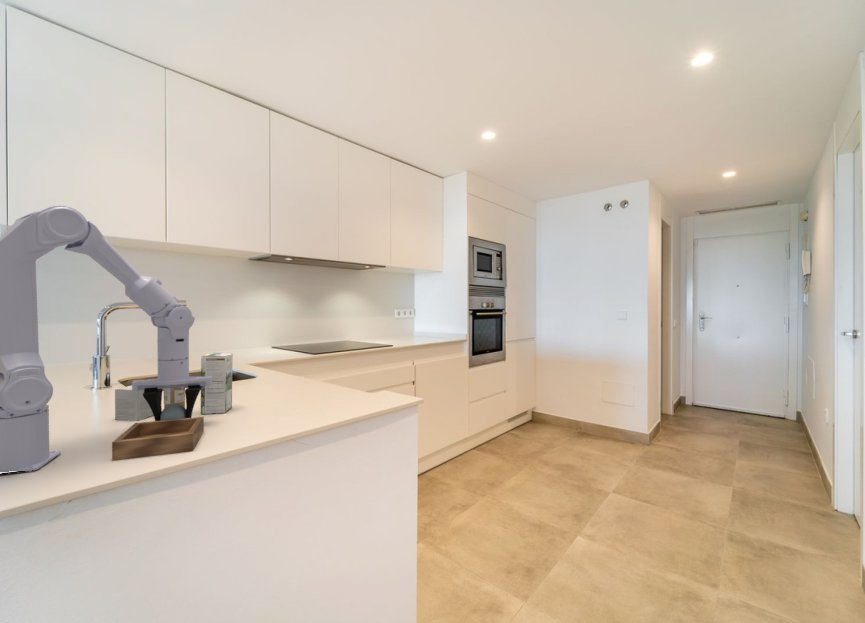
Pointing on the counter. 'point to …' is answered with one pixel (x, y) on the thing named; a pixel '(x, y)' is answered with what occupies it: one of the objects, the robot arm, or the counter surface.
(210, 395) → the syrup box
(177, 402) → the sprinkles bottle
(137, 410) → the skincare box
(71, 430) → the counter surface
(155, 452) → the tray
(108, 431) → the counter surface
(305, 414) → the counter surface
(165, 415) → the ball
